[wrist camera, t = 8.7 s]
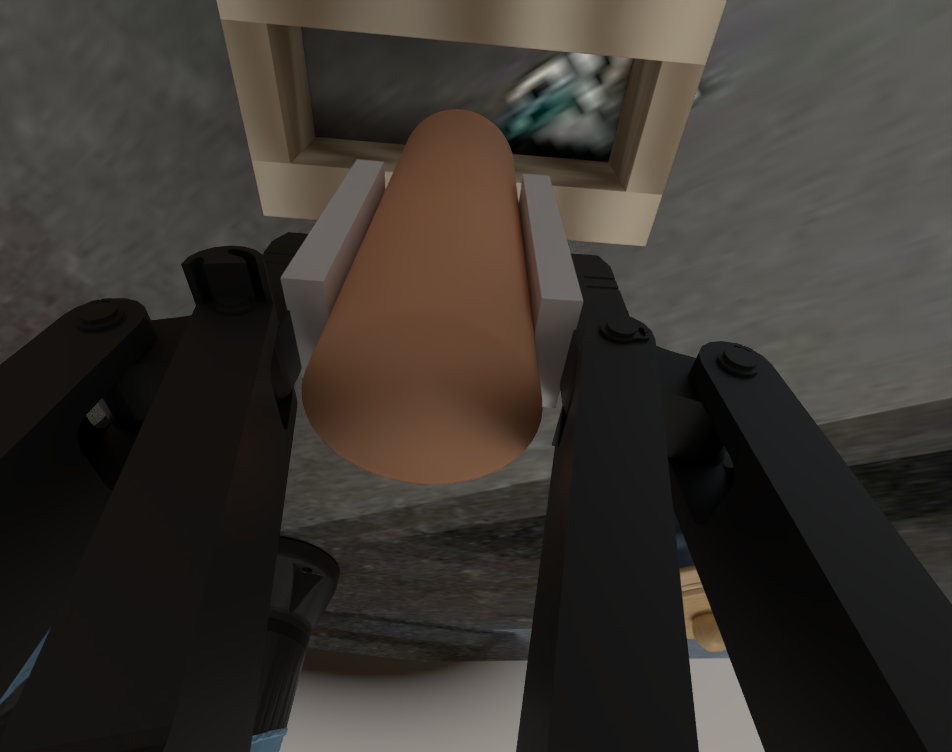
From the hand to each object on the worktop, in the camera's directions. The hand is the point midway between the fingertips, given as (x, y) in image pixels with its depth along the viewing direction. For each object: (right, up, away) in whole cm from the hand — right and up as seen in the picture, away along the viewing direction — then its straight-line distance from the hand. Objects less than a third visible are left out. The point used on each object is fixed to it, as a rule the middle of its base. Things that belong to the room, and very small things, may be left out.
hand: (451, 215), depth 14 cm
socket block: (0, +11, +13) cm, 17 cm away
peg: (0, +3, +3) cm, 4 cm away
